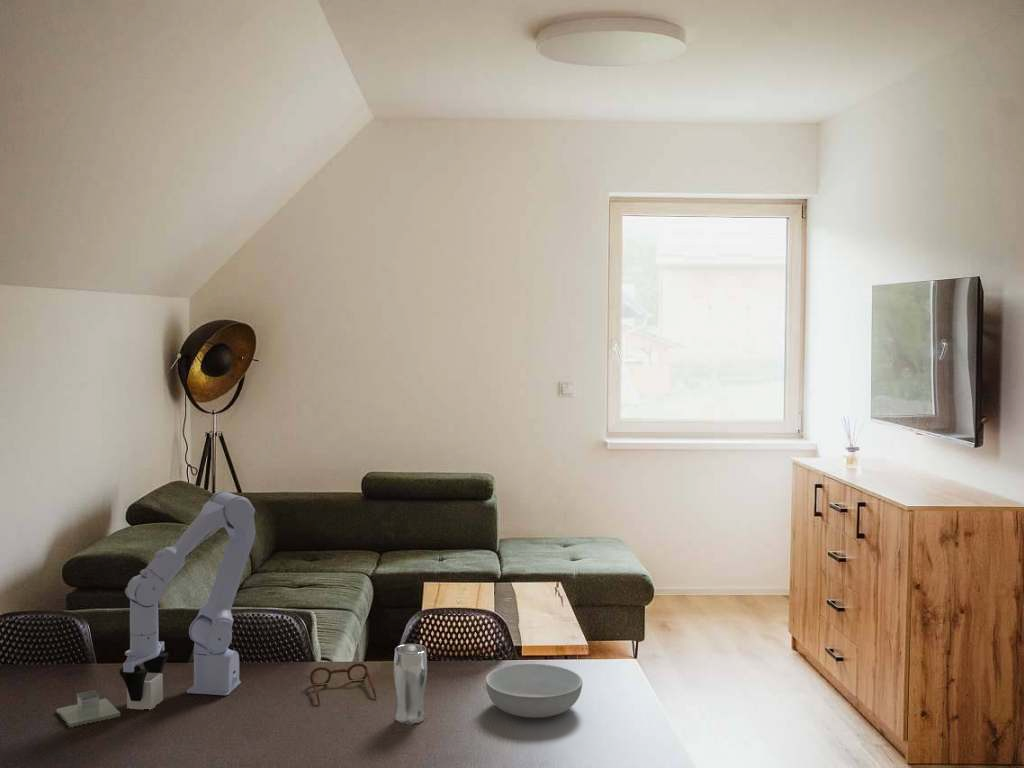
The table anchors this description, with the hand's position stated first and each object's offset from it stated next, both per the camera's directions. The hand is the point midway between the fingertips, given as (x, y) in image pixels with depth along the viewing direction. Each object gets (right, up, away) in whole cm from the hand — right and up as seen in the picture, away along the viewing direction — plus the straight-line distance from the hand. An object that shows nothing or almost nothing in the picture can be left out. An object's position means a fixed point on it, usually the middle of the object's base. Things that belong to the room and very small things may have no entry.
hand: (144, 693), depth 218 cm
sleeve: (0, -2, 0) cm, 2 cm away
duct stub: (-10, -3, -6) cm, 12 cm away
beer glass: (+58, -4, -6) cm, 58 cm away
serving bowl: (+84, -4, 0) cm, 84 cm away
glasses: (+41, -3, +8) cm, 42 cm away
